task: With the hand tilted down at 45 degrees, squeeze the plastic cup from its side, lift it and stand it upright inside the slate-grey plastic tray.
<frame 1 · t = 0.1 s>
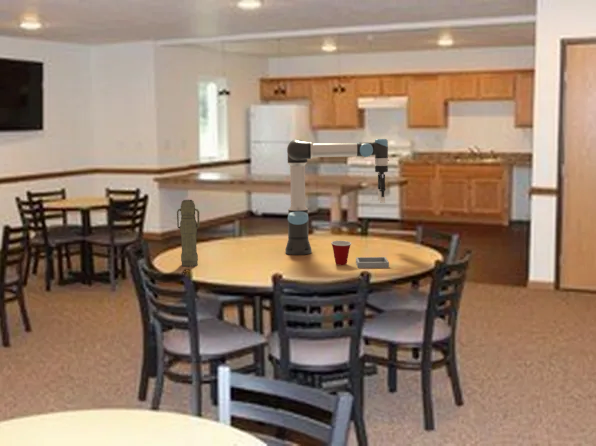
hand: (381, 201, 472), 28 cm above the table, tool pointing down, fingers open, 13 cm apart
plastic cup: (341, 264, 425), on the table
thermos: (189, 265, 429), on the table
tray: (372, 265, 422), on the table
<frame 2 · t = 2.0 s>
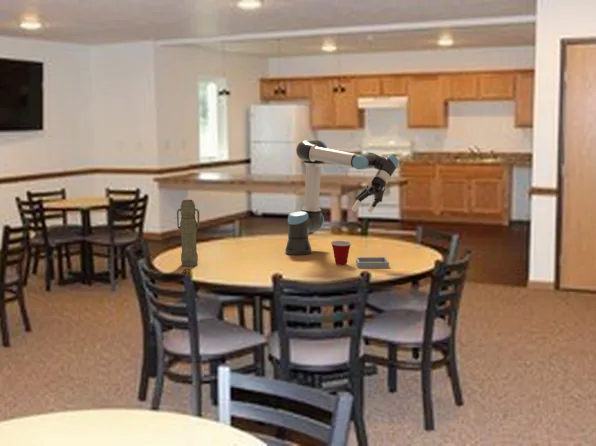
hand: (361, 211, 430), 27 cm above the table, tool tilted 40°, fingers open, 13 cm apart
nothing on the table moved.
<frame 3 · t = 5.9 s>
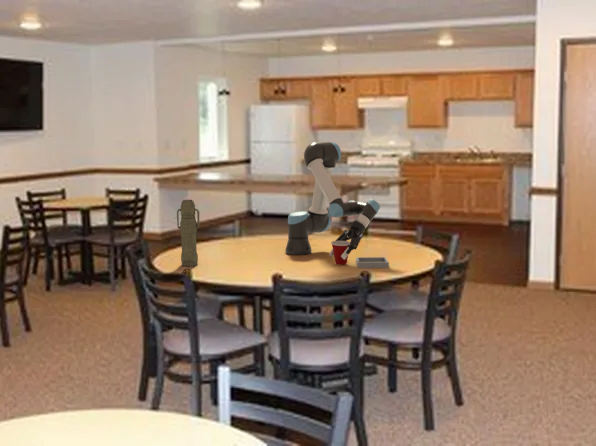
hand: (336, 256, 423), 4 cm above the table, tool tilted 45°, fingers closed on plastic cup, 10 cm apart
plastic cup: (341, 264, 425), on the table, touching gripper
everything else where it was.
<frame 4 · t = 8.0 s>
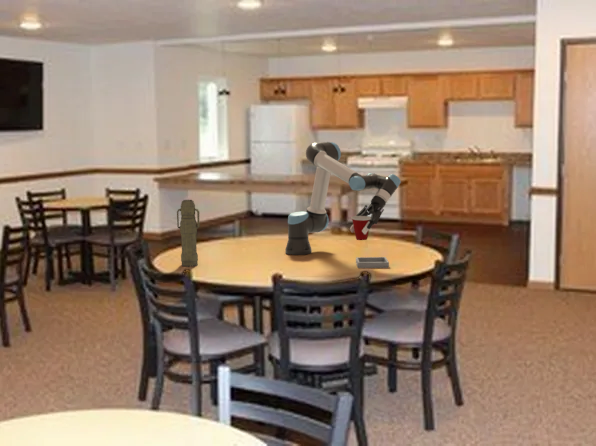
hand: (357, 231, 418), 18 cm above the table, tool tilted 45°, fingers closed on plastic cup, 10 cm apart
plastic cup: (362, 240, 420), point 13 cm above the table, touching gripper
everything else where it was.
when the fingers open (6 cm above the table, at t = 10.6 s): plastic cup moves 3 cm, resting on tray.
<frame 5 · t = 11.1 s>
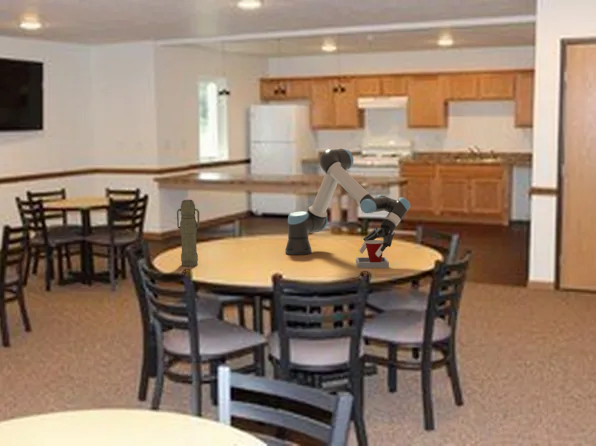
hand: (368, 253, 420), 6 cm above the table, tool tilted 45°, fingers open, 13 cm apart
plastic cup: (376, 263, 420), point 1 cm above the table, touching gripper, tray
everything else where it was.
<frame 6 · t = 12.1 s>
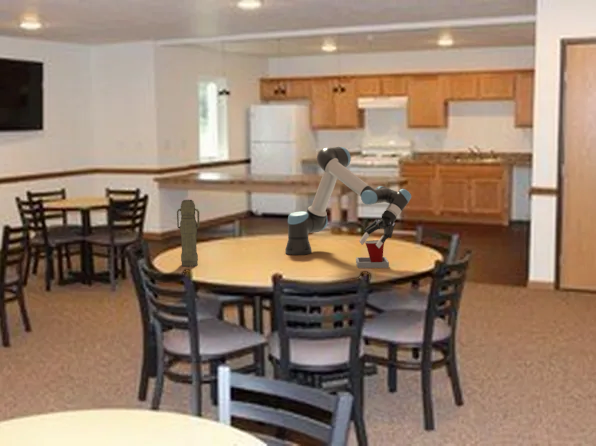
hand: (369, 244, 419), 11 cm above the table, tool tilted 45°, fingers open, 13 cm apart
nothing on the table moved.
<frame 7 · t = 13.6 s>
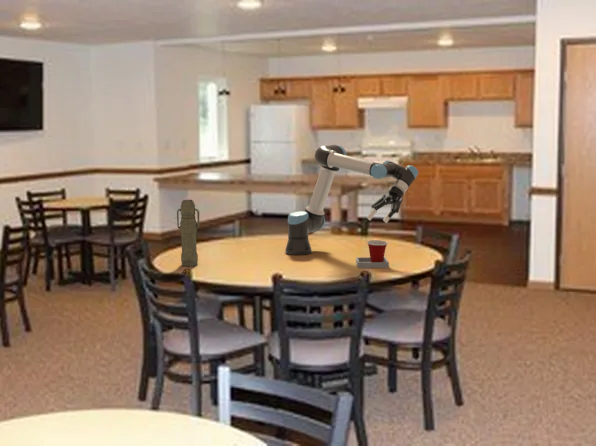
hand: (376, 220, 423), 23 cm above the table, tool tilted 45°, fingers open, 13 cm apart
plastic cup: (377, 264, 420), point 1 cm above the table, touching tray
everything else where it was.
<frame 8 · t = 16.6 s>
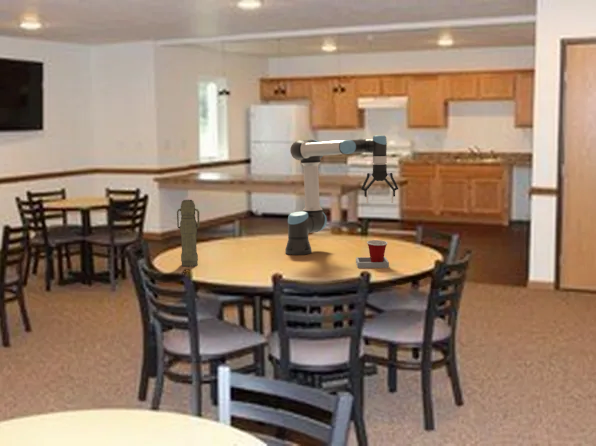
hand: (379, 202, 439), 31 cm above the table, tool pointing down, fingers open, 13 cm apart
nothing on the table moved.
at the end: plastic cup inside the target area on the tray (3.3 cm from its centre), point 0.6 cm above the tray's base; plastic cup tilted 0°; the gripper is holding nothing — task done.
